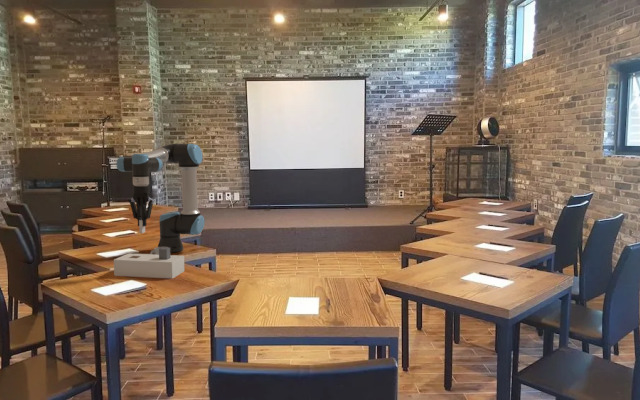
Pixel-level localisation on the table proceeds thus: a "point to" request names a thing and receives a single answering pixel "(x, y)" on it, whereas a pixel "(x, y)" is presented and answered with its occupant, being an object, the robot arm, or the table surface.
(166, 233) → the robot arm
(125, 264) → the grey rectangular block
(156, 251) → the cup
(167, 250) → the charcoal peg
